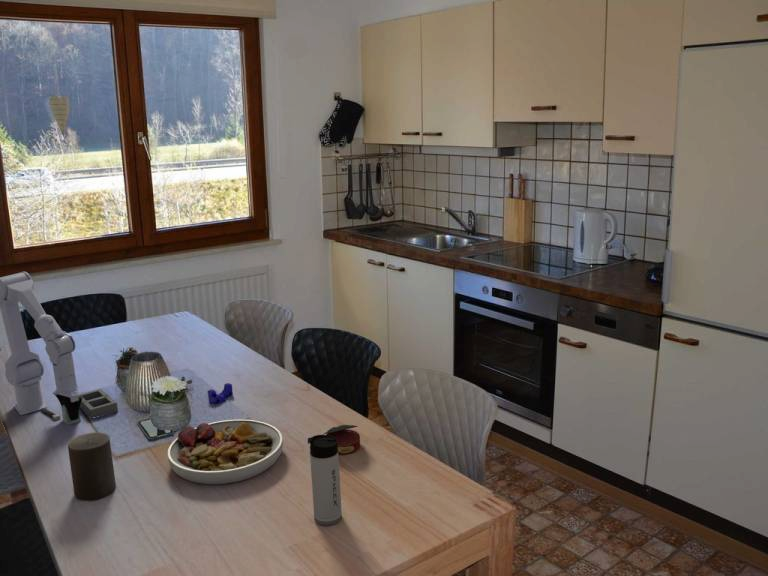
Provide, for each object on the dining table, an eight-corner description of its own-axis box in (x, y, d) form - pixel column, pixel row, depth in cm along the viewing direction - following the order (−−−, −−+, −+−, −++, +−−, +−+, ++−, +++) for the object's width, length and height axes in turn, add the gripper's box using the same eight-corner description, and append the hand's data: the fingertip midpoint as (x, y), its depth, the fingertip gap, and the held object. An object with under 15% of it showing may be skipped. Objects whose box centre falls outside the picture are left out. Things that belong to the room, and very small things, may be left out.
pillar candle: (91, 505, 173) (83, 448, 169) (66, 494, 178) (58, 439, 174) (124, 487, 181) (117, 432, 177) (99, 477, 186) (92, 423, 182)
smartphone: (160, 415, 221) (175, 432, 208) (161, 418, 221) (175, 435, 209) (136, 421, 217) (149, 439, 205) (136, 424, 217) (149, 442, 205)
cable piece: (41, 412, 227) (40, 408, 227) (45, 410, 228) (44, 407, 228) (55, 420, 221) (55, 416, 221) (60, 418, 222) (59, 415, 222)
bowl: (302, 442, 202) (300, 416, 200) (249, 498, 175) (246, 468, 173) (209, 429, 212) (206, 405, 210) (145, 480, 184) (141, 452, 182)
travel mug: (312, 511, 167) (307, 433, 162) (341, 509, 168) (337, 431, 162) (312, 527, 161) (307, 446, 156) (342, 525, 162) (337, 443, 156)
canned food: (327, 468, 196) (308, 438, 195) (341, 448, 205) (323, 419, 203) (360, 457, 191) (340, 426, 189) (373, 436, 200) (355, 406, 198)
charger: (63, 420, 220) (60, 405, 219) (76, 417, 223) (74, 401, 221) (67, 425, 217) (64, 409, 216) (80, 421, 220) (78, 405, 218)
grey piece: (76, 404, 232) (75, 395, 231) (102, 397, 237) (100, 388, 236) (92, 419, 221) (90, 409, 220) (118, 411, 226) (116, 402, 225)
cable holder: (215, 405, 228) (214, 393, 227) (208, 402, 230) (207, 390, 229) (235, 396, 234) (234, 385, 233) (229, 394, 236) (228, 382, 235)
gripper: (44, 371, 219) (50, 412, 223) (57, 385, 208) (64, 428, 212) (68, 365, 223) (74, 406, 227) (82, 378, 213) (89, 421, 216)
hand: (71, 416), depth 220 cm, fingers open, 5 cm apart
